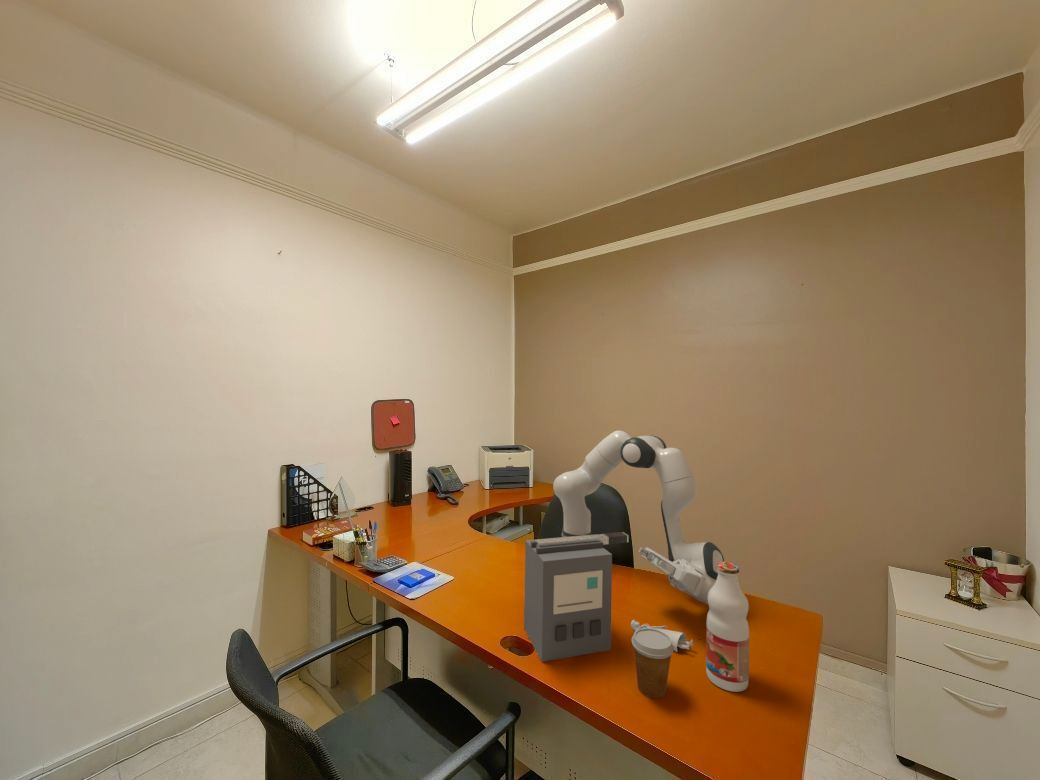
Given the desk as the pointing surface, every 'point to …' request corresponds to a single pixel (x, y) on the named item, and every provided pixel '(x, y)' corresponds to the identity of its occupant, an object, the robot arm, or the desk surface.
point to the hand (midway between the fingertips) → (649, 556)
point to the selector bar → (585, 539)
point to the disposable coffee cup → (652, 660)
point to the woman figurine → (675, 637)
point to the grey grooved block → (568, 599)
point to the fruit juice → (727, 631)
